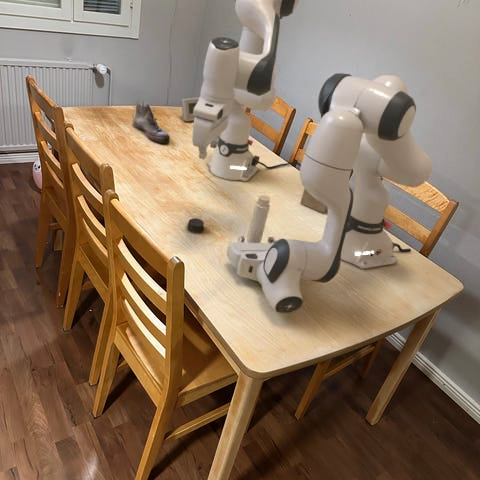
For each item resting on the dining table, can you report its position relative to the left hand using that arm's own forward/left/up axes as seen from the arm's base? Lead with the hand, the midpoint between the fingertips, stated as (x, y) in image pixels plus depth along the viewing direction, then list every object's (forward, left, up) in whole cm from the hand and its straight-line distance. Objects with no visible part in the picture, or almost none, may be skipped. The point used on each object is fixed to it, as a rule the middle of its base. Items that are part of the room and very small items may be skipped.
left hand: (208, 152), depth 125 cm
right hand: (-2, +20, -21) cm, 29 cm away
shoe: (-47, -62, -26) cm, 82 cm away
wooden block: (-51, +20, -26) cm, 60 cm away
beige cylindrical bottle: (-3, +19, -26) cm, 32 cm away
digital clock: (-82, -65, -26) cm, 108 cm away
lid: (0, 0, -24) cm, 24 cm away
